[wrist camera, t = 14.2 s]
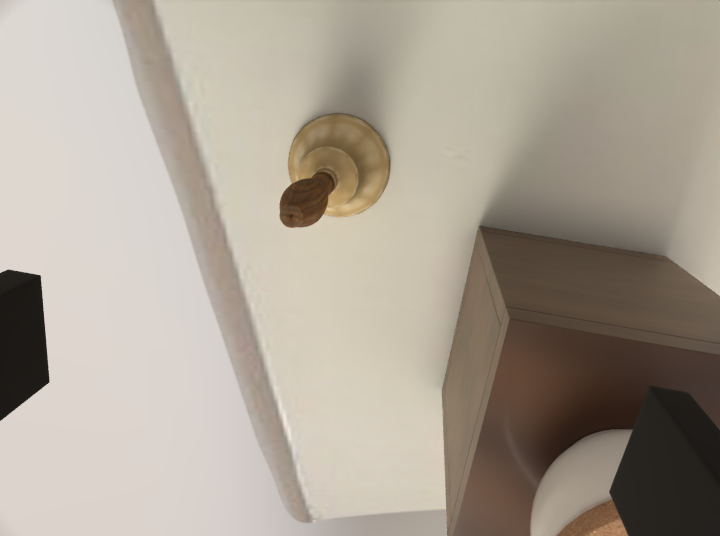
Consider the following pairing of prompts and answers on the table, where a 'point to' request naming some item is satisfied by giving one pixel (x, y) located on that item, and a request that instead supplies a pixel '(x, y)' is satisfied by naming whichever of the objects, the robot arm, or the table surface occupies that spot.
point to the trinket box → (581, 489)
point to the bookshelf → (561, 363)
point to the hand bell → (334, 170)
